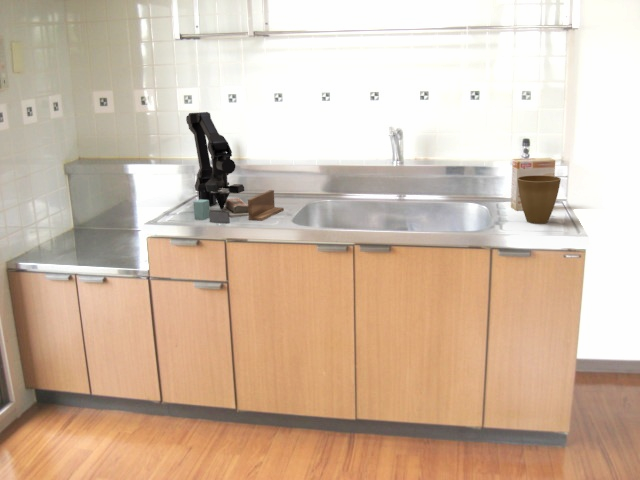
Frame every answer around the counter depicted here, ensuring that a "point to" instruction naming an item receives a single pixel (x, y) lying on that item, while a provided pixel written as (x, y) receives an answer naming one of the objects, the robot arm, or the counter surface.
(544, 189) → the plant pot
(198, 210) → the pale teal block
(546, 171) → the coffeecake box
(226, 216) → the block
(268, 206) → the walnut bookend
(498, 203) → the counter surface
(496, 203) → the counter surface
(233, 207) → the packaged product
